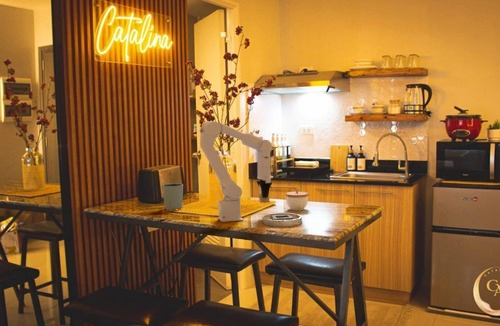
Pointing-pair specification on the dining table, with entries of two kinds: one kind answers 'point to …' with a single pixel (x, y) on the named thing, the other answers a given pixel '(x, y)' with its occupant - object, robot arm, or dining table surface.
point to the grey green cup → (173, 196)
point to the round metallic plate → (282, 219)
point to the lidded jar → (297, 200)
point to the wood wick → (261, 199)
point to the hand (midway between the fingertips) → (264, 197)
